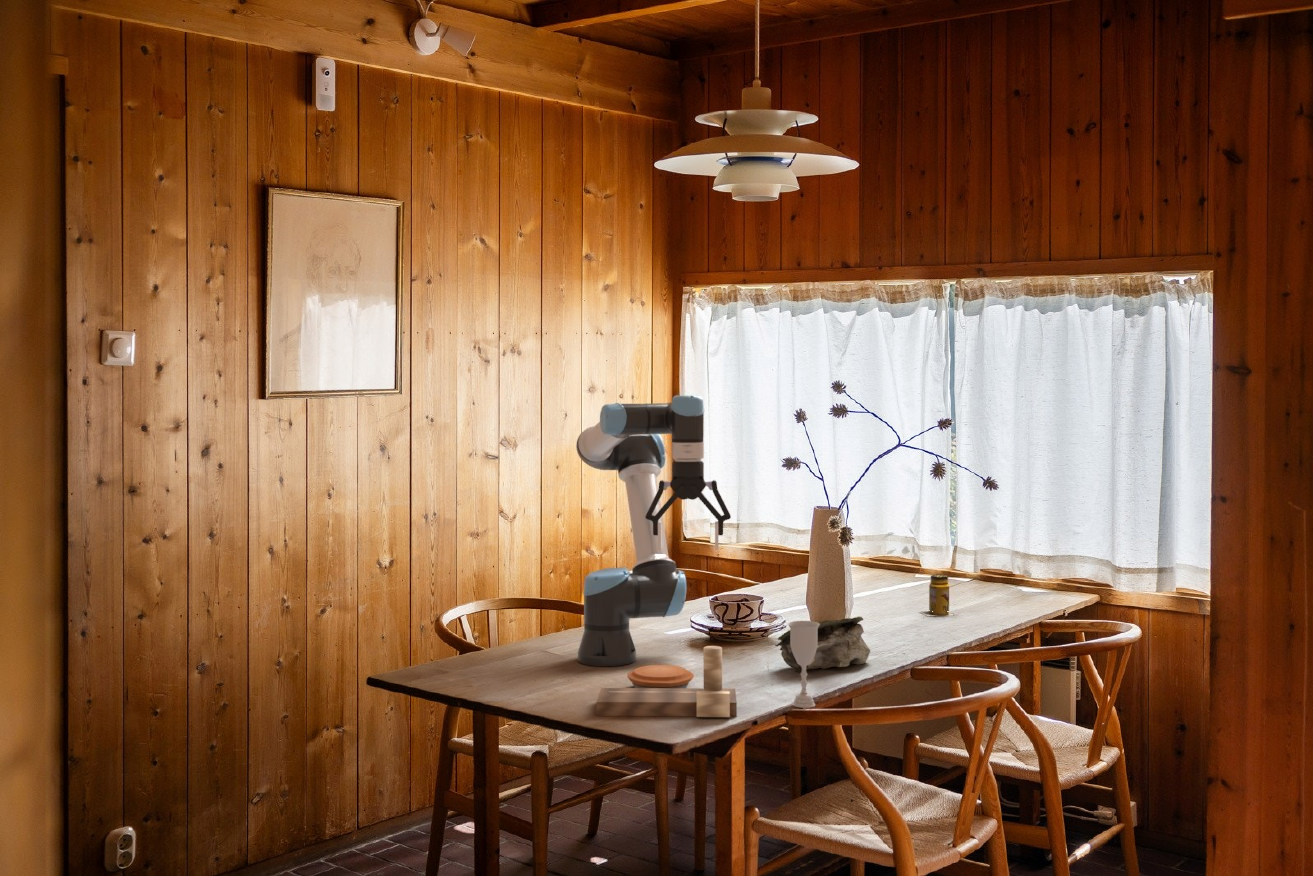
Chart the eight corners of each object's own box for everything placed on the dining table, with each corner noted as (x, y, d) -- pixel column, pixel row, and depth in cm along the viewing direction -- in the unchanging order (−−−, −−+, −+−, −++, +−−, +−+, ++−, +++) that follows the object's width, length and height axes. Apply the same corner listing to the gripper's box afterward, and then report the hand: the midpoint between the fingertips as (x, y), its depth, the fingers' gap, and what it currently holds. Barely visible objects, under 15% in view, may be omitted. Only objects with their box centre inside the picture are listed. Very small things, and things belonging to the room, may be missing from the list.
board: (596, 715, 258) (596, 701, 258) (601, 701, 270) (601, 687, 270) (736, 716, 257) (736, 702, 257) (735, 702, 269) (735, 688, 269)
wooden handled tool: (696, 717, 255) (696, 653, 255) (696, 703, 267) (696, 642, 266) (729, 717, 255) (729, 653, 255) (728, 703, 266) (728, 642, 266)
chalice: (807, 710, 262) (807, 628, 261) (781, 705, 266) (781, 624, 266) (826, 704, 267) (826, 623, 267) (800, 698, 272) (800, 619, 271)
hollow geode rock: (782, 694, 295) (809, 658, 285) (758, 652, 302) (783, 615, 292) (868, 675, 310) (896, 641, 300) (843, 635, 317) (870, 600, 307)
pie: (617, 686, 285) (617, 665, 285) (676, 679, 291) (676, 659, 291) (642, 701, 271) (642, 679, 270) (704, 694, 277) (704, 672, 277)
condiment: (954, 615, 370) (954, 576, 370) (928, 616, 369) (928, 577, 368) (943, 611, 377) (944, 573, 377) (918, 612, 376) (918, 574, 375)
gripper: (634, 461, 283) (635, 551, 284) (740, 461, 282) (741, 551, 283) (636, 459, 291) (636, 547, 292) (739, 459, 290) (740, 547, 291)
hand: (688, 549), depth 287 cm, fingers open, 13 cm apart
